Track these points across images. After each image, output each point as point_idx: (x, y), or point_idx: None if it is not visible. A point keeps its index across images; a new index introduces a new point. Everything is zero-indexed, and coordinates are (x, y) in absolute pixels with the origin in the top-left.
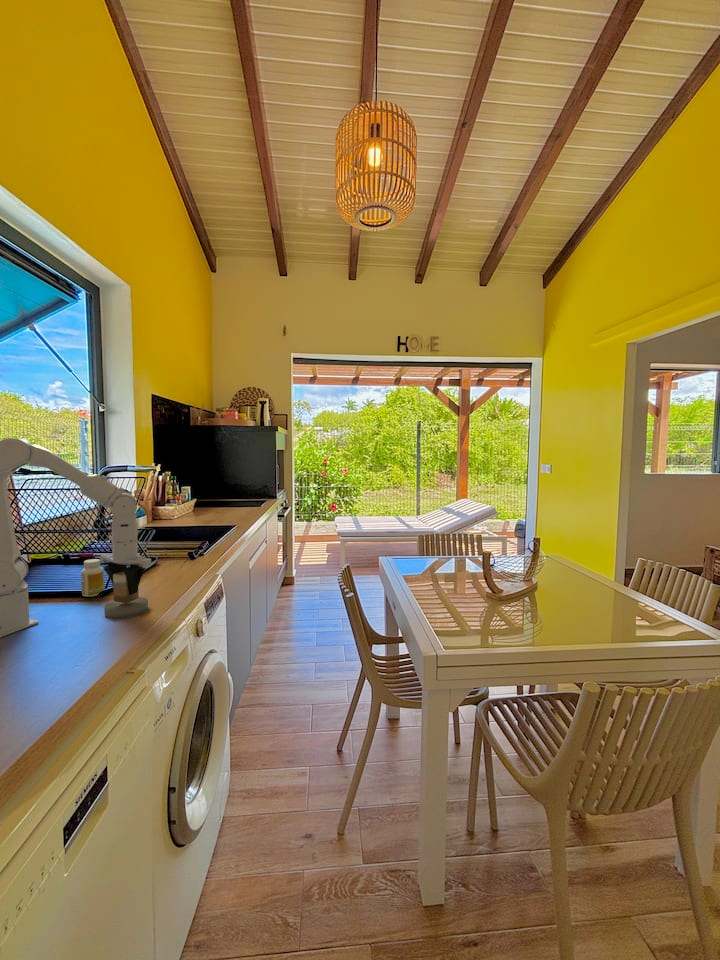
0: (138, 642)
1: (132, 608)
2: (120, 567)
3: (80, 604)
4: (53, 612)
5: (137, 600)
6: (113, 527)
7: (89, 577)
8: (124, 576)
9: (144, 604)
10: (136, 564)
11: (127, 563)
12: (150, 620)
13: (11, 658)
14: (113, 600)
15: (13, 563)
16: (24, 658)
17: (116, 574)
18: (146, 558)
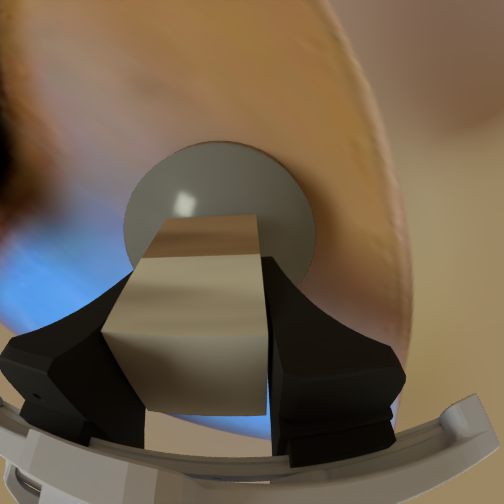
0: (407, 352)
1: (296, 279)
2: (108, 401)
3: (30, 246)
4: (49, 312)
5: (232, 194)
6: None
7: None
8: (253, 411)
9: (314, 226)
10: (353, 468)
11: (229, 480)
12: (377, 264)
13: (232, 431)
14: (126, 241)
15: None
16: (251, 429)
17: (169, 410)
18: (460, 473)
